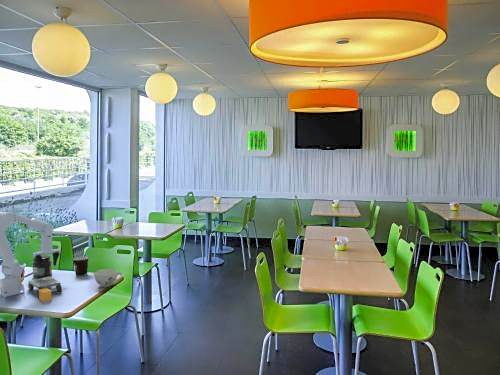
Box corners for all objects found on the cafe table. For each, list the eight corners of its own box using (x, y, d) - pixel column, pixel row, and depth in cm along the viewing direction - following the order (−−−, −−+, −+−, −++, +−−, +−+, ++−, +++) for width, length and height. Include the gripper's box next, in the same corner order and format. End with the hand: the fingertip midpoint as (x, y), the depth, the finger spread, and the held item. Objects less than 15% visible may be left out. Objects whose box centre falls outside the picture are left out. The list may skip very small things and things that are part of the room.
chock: (43, 302, 214) (42, 292, 214) (39, 299, 219) (38, 289, 218) (51, 300, 217) (51, 290, 217) (47, 297, 222) (47, 288, 221)
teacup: (95, 290, 232) (94, 276, 231) (93, 284, 243) (92, 270, 242) (124, 286, 238) (123, 272, 238) (120, 280, 249) (120, 267, 249)
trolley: (40, 298, 220) (40, 287, 220) (27, 289, 235) (27, 279, 234) (62, 293, 228) (61, 283, 228) (48, 285, 242) (48, 275, 242)
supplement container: (53, 273, 266) (52, 254, 265) (50, 278, 256) (49, 258, 255) (35, 275, 264) (34, 255, 263) (31, 279, 253) (30, 259, 252)
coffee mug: (73, 273, 266) (73, 257, 265) (88, 271, 269) (87, 256, 269) (74, 278, 255) (73, 261, 254) (89, 276, 259) (88, 260, 258)
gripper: (35, 246, 237) (36, 270, 238) (62, 242, 247) (63, 265, 248) (31, 244, 242) (32, 268, 243) (57, 240, 252) (58, 263, 253)
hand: (47, 266), depth 246 cm, fingers open, 7 cm apart
